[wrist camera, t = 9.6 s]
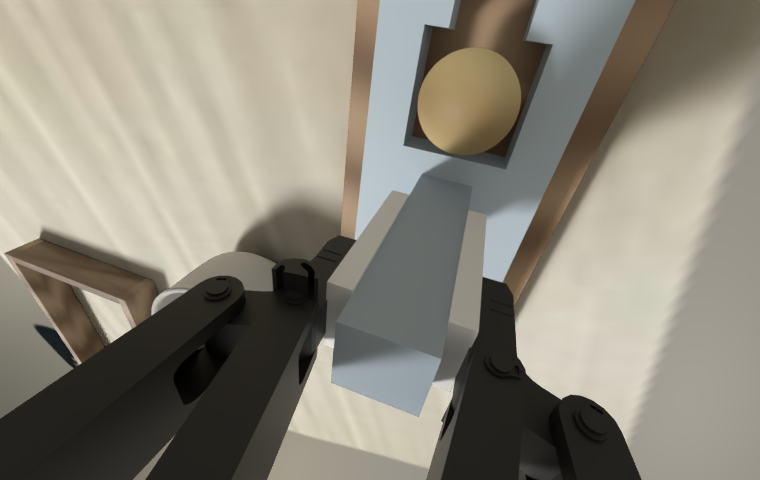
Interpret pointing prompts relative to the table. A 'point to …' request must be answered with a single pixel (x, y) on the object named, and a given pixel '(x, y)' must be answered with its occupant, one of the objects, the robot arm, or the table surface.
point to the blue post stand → (452, 187)
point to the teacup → (236, 264)
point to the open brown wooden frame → (58, 301)
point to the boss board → (525, 64)
